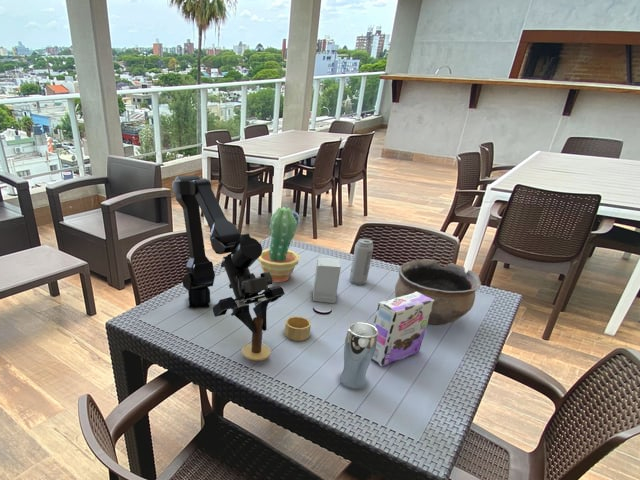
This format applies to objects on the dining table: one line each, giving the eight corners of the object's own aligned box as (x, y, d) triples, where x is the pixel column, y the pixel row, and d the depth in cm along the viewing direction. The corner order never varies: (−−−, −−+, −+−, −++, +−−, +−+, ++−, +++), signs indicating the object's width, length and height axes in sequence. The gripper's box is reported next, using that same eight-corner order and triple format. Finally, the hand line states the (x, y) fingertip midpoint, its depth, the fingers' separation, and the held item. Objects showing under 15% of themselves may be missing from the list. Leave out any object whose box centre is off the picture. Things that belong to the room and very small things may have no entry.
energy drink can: (352, 276, 159) (360, 236, 151) (368, 280, 157) (377, 240, 148) (346, 282, 155) (353, 241, 147) (362, 286, 152) (370, 245, 144)
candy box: (381, 367, 112) (395, 311, 103) (365, 356, 116) (377, 301, 107) (419, 353, 117) (436, 299, 108) (402, 343, 122) (417, 290, 113)
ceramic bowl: (475, 317, 134) (492, 272, 126) (450, 346, 120) (467, 297, 112) (405, 295, 147) (416, 253, 139) (376, 318, 133) (386, 273, 125)
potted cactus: (300, 286, 153) (309, 215, 139) (257, 285, 153) (260, 214, 139) (295, 268, 166) (302, 202, 152) (254, 268, 166) (257, 201, 152)
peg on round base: (240, 361, 112) (241, 326, 106) (243, 345, 118) (244, 311, 113) (269, 363, 111) (272, 328, 106) (270, 347, 118) (273, 313, 112)
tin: (292, 342, 122) (293, 330, 120) (280, 330, 127) (281, 318, 125) (313, 338, 124) (315, 326, 122) (301, 326, 129) (302, 314, 127)
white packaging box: (335, 303, 142) (341, 267, 135) (312, 301, 143) (316, 265, 136) (334, 293, 148) (340, 258, 141) (312, 291, 149) (317, 256, 142)
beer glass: (334, 373, 110) (343, 322, 102) (361, 372, 110) (372, 321, 102) (343, 391, 104) (353, 338, 96) (371, 389, 104) (384, 336, 96)
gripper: (217, 269, 101) (240, 332, 99) (283, 255, 108) (306, 313, 106) (203, 287, 111) (223, 344, 109) (264, 273, 118) (284, 326, 116)
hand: (260, 331), depth 110 cm, fingers closed on peg on round base, 2 cm apart
